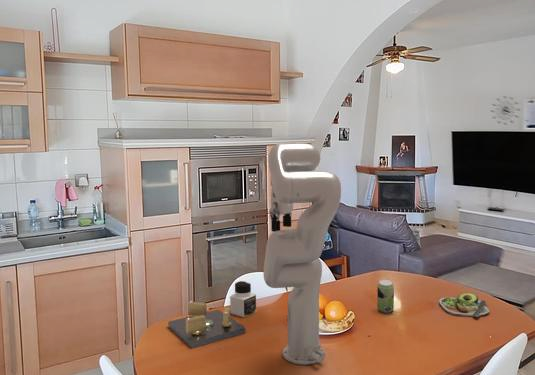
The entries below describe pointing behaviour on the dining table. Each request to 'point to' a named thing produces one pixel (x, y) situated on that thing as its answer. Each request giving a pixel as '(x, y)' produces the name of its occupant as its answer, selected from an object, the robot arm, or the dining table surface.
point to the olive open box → (196, 309)
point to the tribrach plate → (207, 329)
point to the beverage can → (385, 296)
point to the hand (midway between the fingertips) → (281, 229)
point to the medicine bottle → (243, 300)
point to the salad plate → (465, 305)
